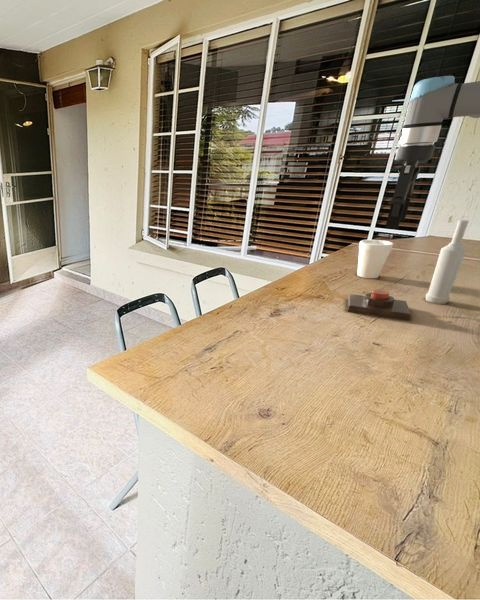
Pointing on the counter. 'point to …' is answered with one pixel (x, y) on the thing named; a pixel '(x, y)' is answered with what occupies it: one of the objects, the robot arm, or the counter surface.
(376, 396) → the counter surface
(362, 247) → the foam cup
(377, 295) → the press knob
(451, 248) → the bottle
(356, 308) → the control block
